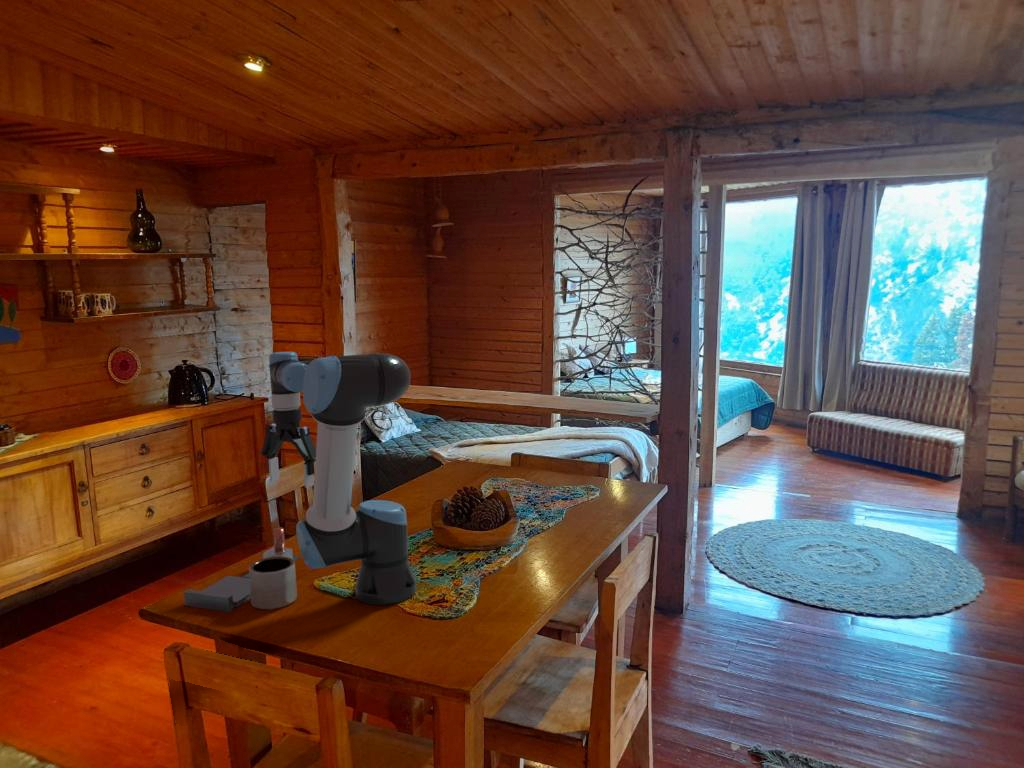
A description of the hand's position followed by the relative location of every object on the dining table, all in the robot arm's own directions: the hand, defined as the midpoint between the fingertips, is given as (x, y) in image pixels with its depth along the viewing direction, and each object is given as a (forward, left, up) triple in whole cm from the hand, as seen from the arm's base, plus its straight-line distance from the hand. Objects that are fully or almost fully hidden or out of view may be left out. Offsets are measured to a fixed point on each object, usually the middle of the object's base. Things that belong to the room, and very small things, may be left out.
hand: (291, 483), depth 203 cm
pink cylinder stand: (-2, +6, -21) cm, 23 cm away
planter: (-25, +8, -23) cm, 35 cm away
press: (-9, +12, -22) cm, 27 cm away
